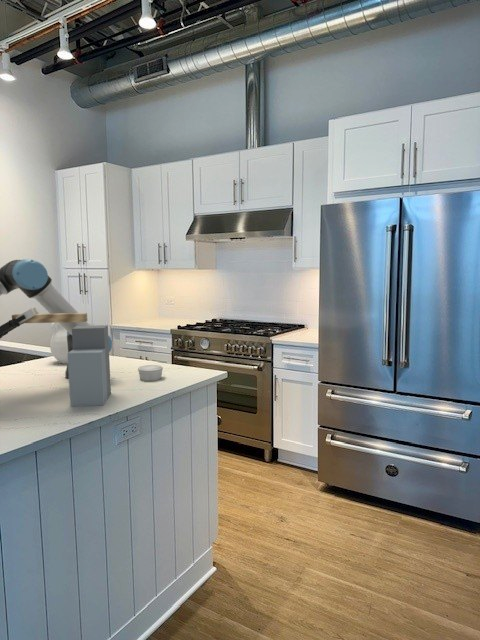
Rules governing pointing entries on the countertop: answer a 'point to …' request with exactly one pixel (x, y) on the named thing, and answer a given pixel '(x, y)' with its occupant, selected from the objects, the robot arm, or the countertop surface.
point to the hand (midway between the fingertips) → (35, 311)
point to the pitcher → (59, 343)
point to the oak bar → (55, 318)
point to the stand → (89, 366)
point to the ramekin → (150, 372)
